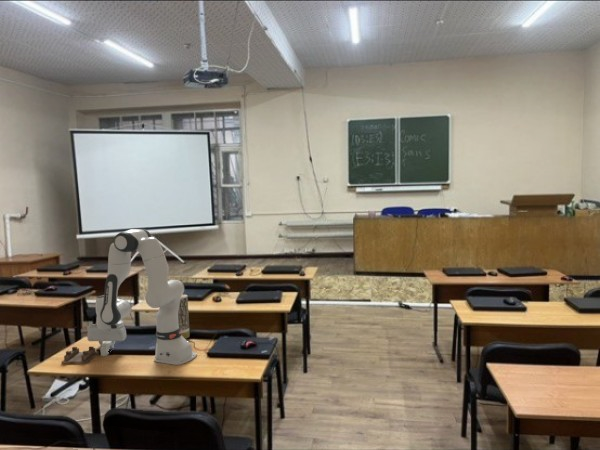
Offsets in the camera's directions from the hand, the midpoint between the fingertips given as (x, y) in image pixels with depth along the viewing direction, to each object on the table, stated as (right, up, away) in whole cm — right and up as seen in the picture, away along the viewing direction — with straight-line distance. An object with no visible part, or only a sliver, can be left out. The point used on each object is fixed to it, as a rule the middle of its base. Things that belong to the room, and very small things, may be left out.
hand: (107, 348), depth 222 cm
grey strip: (0, -2, 0) cm, 2 cm away
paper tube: (+37, +1, +17) cm, 41 cm away
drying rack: (-10, -3, -9) cm, 14 cm away
